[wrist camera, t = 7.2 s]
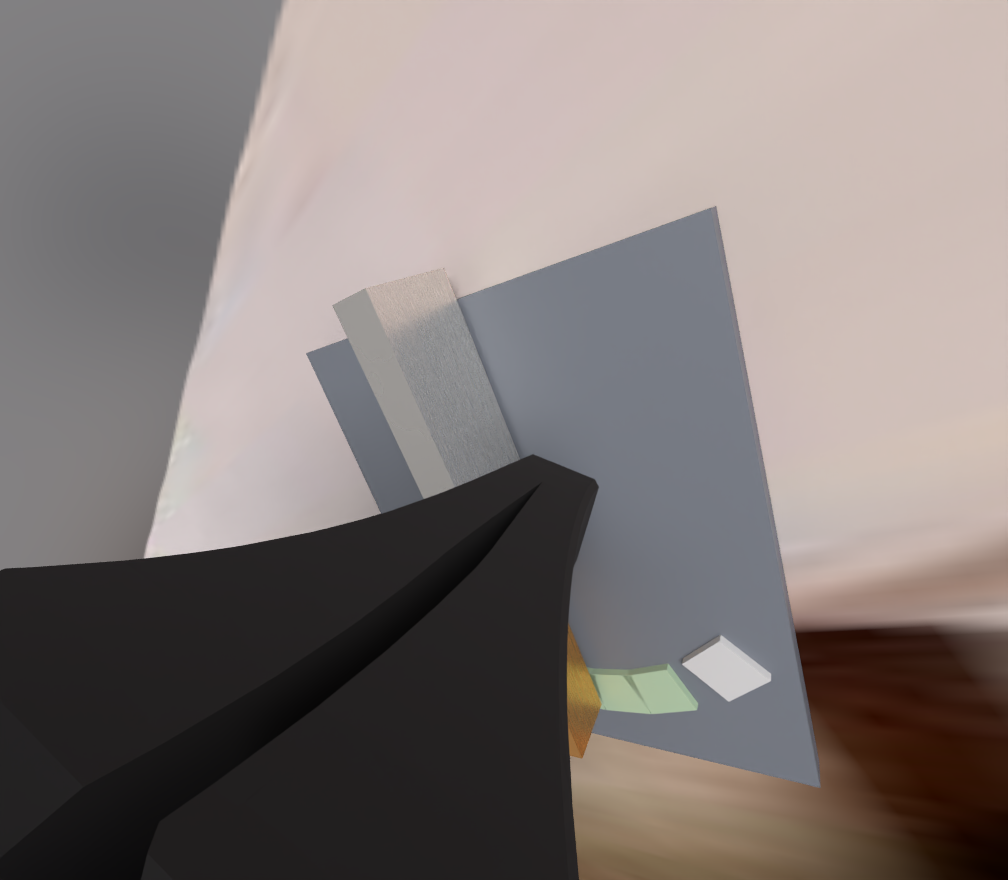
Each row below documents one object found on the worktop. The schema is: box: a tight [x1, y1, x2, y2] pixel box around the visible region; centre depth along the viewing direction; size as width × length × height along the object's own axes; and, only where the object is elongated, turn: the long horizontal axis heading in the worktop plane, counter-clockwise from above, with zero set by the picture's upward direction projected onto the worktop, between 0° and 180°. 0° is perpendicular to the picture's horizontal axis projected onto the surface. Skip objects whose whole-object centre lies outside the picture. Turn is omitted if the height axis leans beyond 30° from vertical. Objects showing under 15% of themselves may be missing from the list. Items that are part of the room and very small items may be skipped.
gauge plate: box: [306, 206, 820, 788], centre depth 19 cm, size 20×16×1 cm
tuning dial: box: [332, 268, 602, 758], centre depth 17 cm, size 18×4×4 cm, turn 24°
